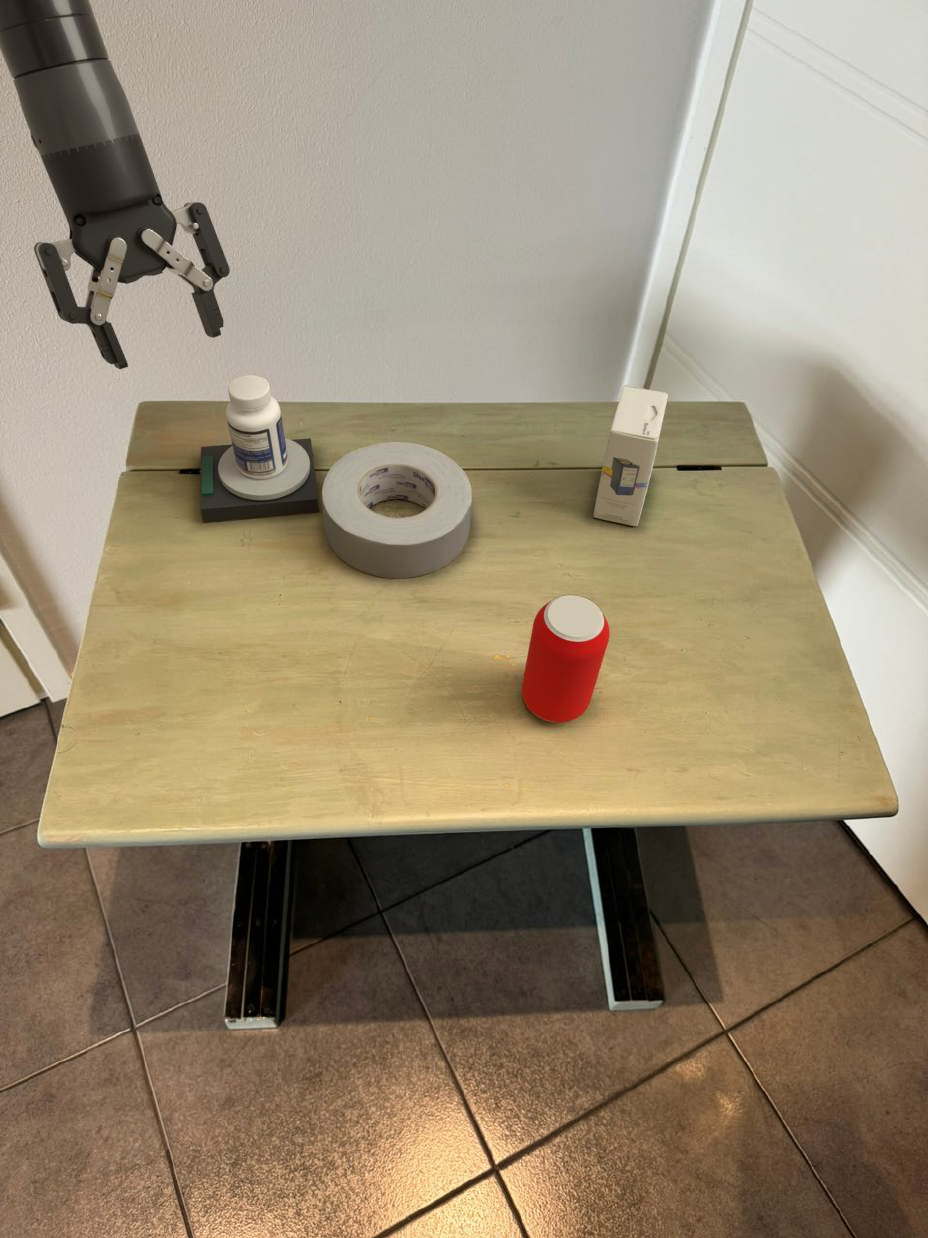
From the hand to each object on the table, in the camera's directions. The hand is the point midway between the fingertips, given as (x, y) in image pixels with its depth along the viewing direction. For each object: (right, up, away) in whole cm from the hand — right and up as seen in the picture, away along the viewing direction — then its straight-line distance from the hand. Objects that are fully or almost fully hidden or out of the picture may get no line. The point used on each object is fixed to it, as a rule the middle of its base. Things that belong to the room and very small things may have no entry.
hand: (169, 350), depth 72 cm
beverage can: (+34, -31, +3) cm, 46 cm away
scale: (+3, -9, +19) cm, 21 cm away
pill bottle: (+4, -7, +17) cm, 19 cm away
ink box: (+43, -10, +21) cm, 49 cm away
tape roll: (+19, -13, +16) cm, 28 cm away
